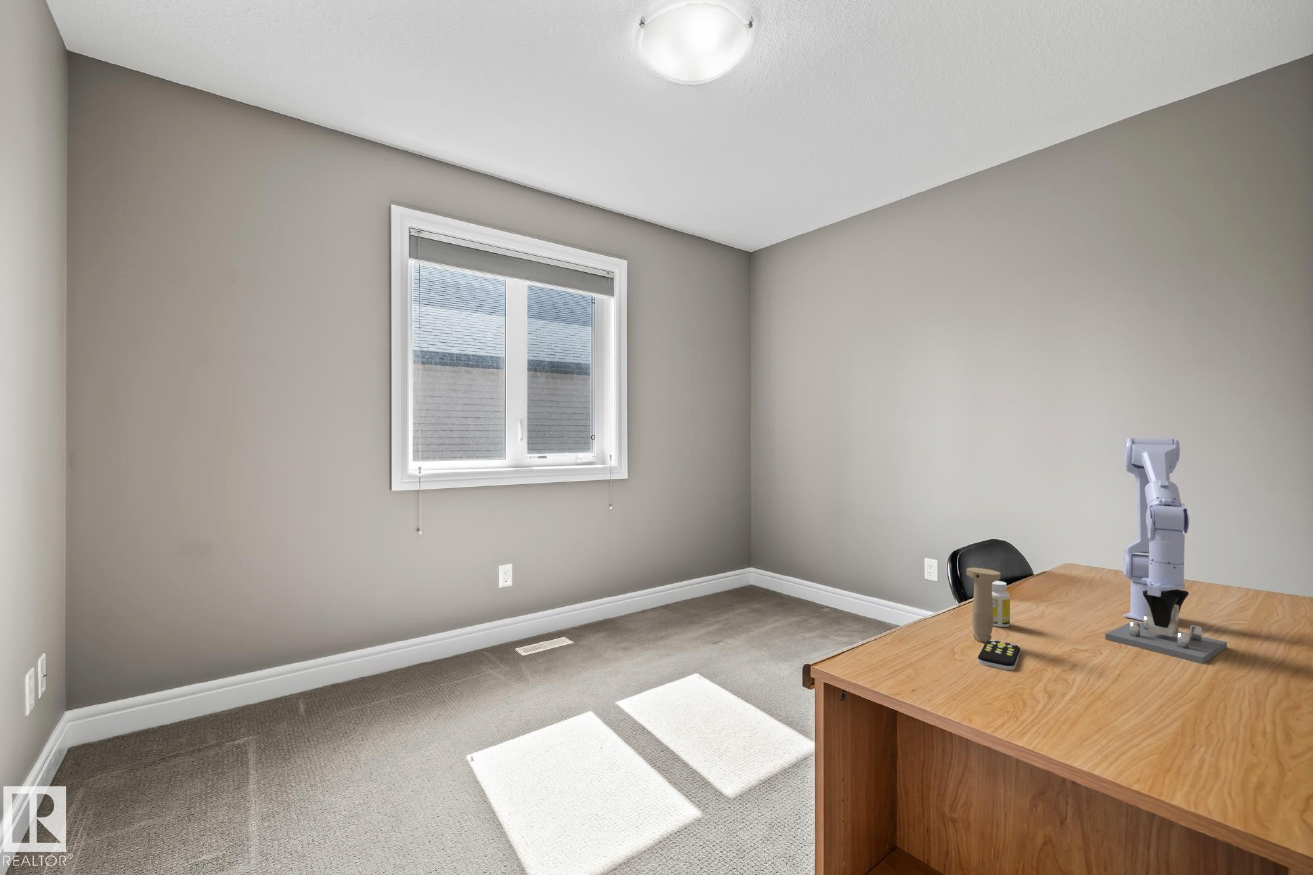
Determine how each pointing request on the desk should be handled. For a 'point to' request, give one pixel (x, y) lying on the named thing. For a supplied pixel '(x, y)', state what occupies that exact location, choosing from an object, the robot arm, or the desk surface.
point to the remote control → (999, 655)
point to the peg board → (1168, 641)
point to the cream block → (1173, 623)
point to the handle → (982, 602)
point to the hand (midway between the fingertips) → (1165, 624)
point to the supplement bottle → (1000, 604)
